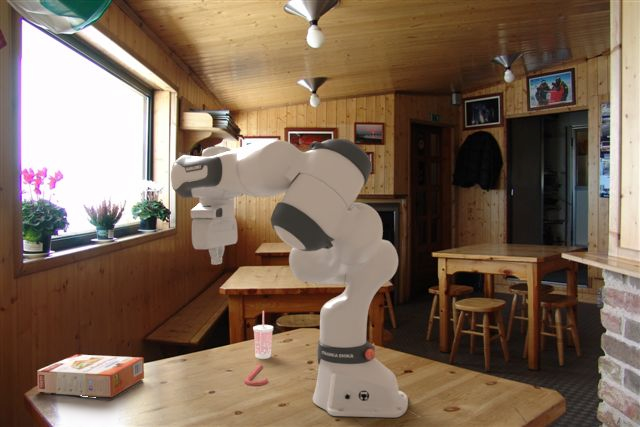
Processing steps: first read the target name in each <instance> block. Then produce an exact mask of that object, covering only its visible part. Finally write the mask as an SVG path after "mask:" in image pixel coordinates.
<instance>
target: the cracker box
mask: <svg viewBox="0 0 640 427" xmlns="http://www.w3.org/2000/svg"><path fill="white" fill-rule="evenodd" d="M144 362H145V361H144V357H140V356H139V357H138V356H137V357H135V356H134V357H132V356H114V355H113V356H112V355H96V354H95V355H93V354H92V355H90V354H89V355H88V354H74V355H71V356H69V357H66V358H64V359H62V360H59V361H57V362H54V363H52V364H49V365H48V366H45V367H42V368H40V369H38V370H37V371H36V372H37V374H36V376H37V377H36V378H37V393H38V392H46V393H45V394H51V393H56V394H55V395H67V396H68V395H69V396H79V395H82V396H97V397H113V396H115V395H117V394H118V393H120V392H122V391H123V390H125V389H127V388H128V387H130V386H132V385H134V384H135V383H137V382H139V381H140V380H144V378H145V371H144V369H145V366H144Z"/></svg>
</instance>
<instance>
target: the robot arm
mask: <svg viewBox="0 0 640 427" xmlns="http://www.w3.org/2000/svg"><path fill="white" fill-rule="evenodd" d="M372 169H373V164H372V161H371V159H370V157H369V155H368V154H367V152H365V150H364V149H363V148H362V147H360V146H359V145H358V144H356V143H355V142H353V141H351V140H349V139H346V138H331V139H329V138H328V139H327V140H323V141H322V142H319V141H315V140H314V141H313V142H311V143H310V145H309V149H308V151H301V150H300V149H298V147H296V146H295V145H294V144H292V143H291V142H289V141H286V140H281V139H275V138H274V139H273V138H272V139H262V140H258V141H255V142H252V143H250V144H249V143H248V144H246V145H244V146H241V147H239V148H235V149H233V150H231V149H230V148H229V147H225V146H219V145H218V146H209V147H206V148H205V149H203V150H202V153H201V156H194V155H189V154H187V155H186V154H182V155H181V156H179V158H177V159H176V160H175V161H174V162H173V164H172V167H171V172H170V182H171V187H172V190H174V192H175V193H176V194H177V195H178V196H179V197H181V199H192V198H198V199H199V203H198V204H197V205H196V206H195V207H193V208H192V209H190V217H191V219H193V220H192V222H191V242H192V246H193V248H194V250H208V253H209V257H210V261H211V262H210V264H211V265H212V266H213V265H221V264H222V263H223V256H224V252H225V247H226V246H231V245H234V244H237V242H238V239H239V237H238V223H237V219H236V217H235V198H238V197H242V196H244V195H245V196H249V197H254V198H269V197H270V198H271V197H275V196H279V195H282V194H284V195H283V197H281V200H280V201H279V202H277V204H276V205H275V206H274V209H273V211H272V214H271V216H270V223H271V228H272V229H273V230H274V232H275V233H276V235H277V236H278V238H280V240H281V241H282V242H284V243H285V244H286V245H288V246H289V247H291V250H290V252H289V256H288V263H289V268H290V271H291V273H292V275H293V277H294V278H295V279H297V281H302V282H306V283H309V284H310V283H311V284H315V285H316V284H317V285H320V284H321V285H326V284H327V285H331V284H333V285H335V284H336V285H338V284H341V285H346V286H345V289H344V291H343V292H342V293H341V294H339V295H337V296H336V297H333V298H331V299H330V300H328V301H327V302H325V303H324V304H323V305H322V307H321V309H320V311H319V312H320V314H319V339H318V343H317V348H316V349H317V351H316V352H317V353H316V354H317V364H318V370H317V377H316V383H315V384H316V385H315V389H314V393H313V395H312V402H313V403H314V404H315V405H316V406H317V407H319V408H321V409H323V410H324V411H326V412H327V414H329V415H330V416H333V417H359V418H360V417H364V418H399V417H401V416H403V415H404V414H405V413H406V412H407V410H408V406H409V400H408V396H407V394H406V393H405V392H404V391H402V390H399V384H398V380H397V378H396V375H395V374H394V372H393V371H392V370H391V369H389V368H388V367H387V366H385V365H384V364H383V363H381V362H380V361H379V360H378V359H377V358H376V357H375V355H376V354H375V352H376V350H375V342H372V343H371V342H369V341H368V340H367V326H368V325H367V324H368V315H369V309H370V306H371V303H372V300H373V299H374V296H375V295H376V294H377V292H378V290H380V288H381V287H383V286H384V284H386V283H387V282H389V281H390V280H391V279H392V278H393V277H394V275H395V274H396V272H397V270H398V267H399V256H398V253H397V249H396V247H395V246H394V245H393V244H392V242H391V241H389V240H386V239H383V235H384V234H383V232H384V230H383V228H384V227H383V222H382V218H381V216H380V215H379V212H377V211H376V209H374V207H372V206H370V205H368V204H367V203H364V202H363V203H362V202H355V201H356V199H357V198H358V196H359V194H360V192H361V191H362V188H363V187H365V185H367V183H368V180H369V178H370V176H371V173H372Z"/></svg>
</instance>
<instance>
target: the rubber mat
mask: <svg viewBox="0 0 640 427" xmlns="http://www.w3.org/2000/svg"><path fill="white" fill-rule="evenodd" d="M143 382H144V379H142V380H140V381H139V382H137V383H135V384H134V385H132V386H130V387H128V388H127V389H125V390H123V391H122V392H120V393H118V394H117V395H115V396H113V397H97V396H88V397H96V398H100V399H99V400H104V399H106V401H113V400H114V399H116V398H117V397H120V396H121V395H122V394H124V393H126V392H127V391H129V390H131V389H133V388H135V387H136V386H139V385H140V384H141V383H143Z"/></svg>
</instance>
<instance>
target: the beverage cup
mask: <svg viewBox="0 0 640 427" xmlns="http://www.w3.org/2000/svg"><path fill="white" fill-rule="evenodd" d="M252 329H253V336H254V351H255V352H254V354H255V358H257V359H260V360H265V359H269V358H271V355H272V343H273V342H272V340H273V331H274V326H273V325H271V324H270V325H269V324H265V310H262V324H257V325H255V326H253V327H252Z"/></svg>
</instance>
